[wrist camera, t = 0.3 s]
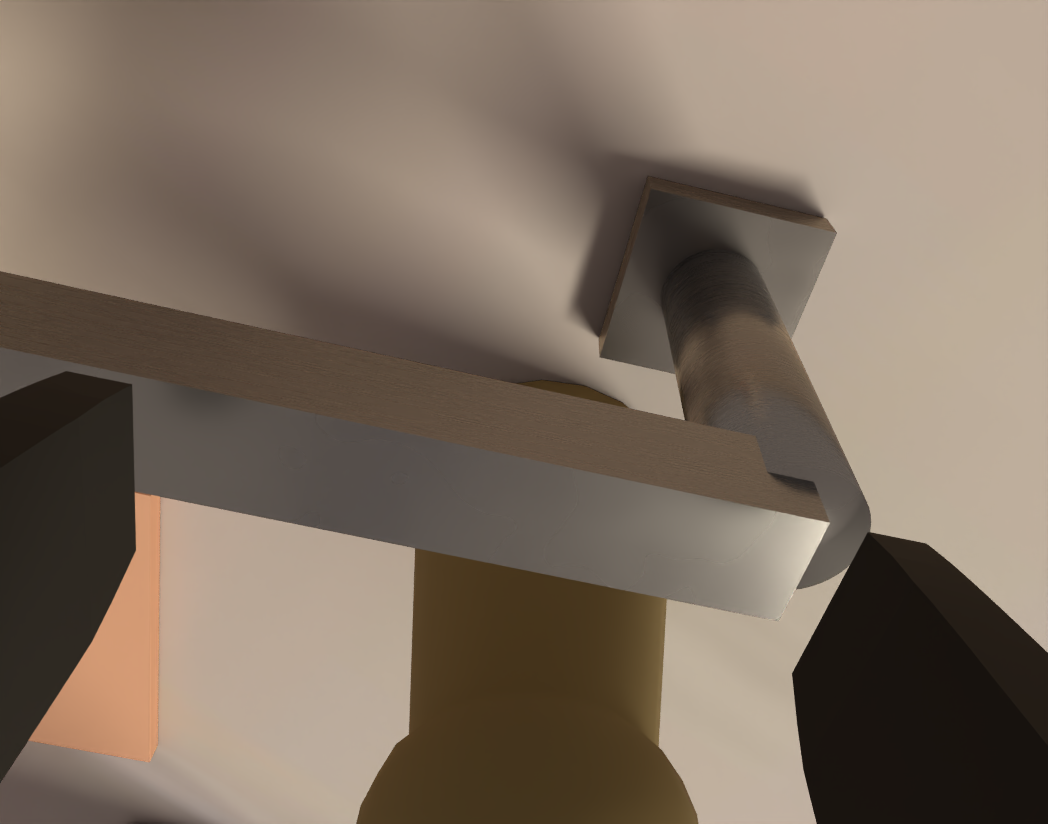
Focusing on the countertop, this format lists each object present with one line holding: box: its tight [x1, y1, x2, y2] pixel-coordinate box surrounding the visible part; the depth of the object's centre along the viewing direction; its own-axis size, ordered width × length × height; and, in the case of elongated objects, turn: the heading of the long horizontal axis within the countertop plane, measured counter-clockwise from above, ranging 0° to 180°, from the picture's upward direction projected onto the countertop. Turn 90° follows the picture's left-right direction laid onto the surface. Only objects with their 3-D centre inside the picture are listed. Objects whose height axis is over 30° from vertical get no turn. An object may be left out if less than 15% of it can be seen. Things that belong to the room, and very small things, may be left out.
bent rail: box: [0, 176, 871, 621], centre depth 19 cm, size 24×26×9 cm
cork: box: [356, 380, 698, 824], centre depth 16 cm, size 6×6×11 cm
